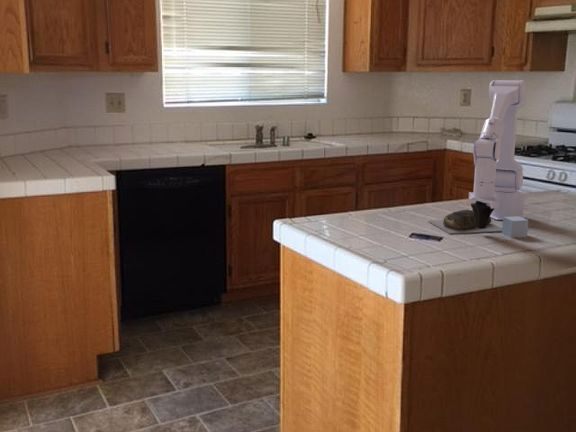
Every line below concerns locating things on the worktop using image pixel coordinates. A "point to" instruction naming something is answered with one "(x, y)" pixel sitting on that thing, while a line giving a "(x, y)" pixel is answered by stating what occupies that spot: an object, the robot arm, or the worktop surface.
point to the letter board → (449, 230)
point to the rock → (462, 220)
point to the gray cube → (515, 226)
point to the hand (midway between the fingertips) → (481, 228)
